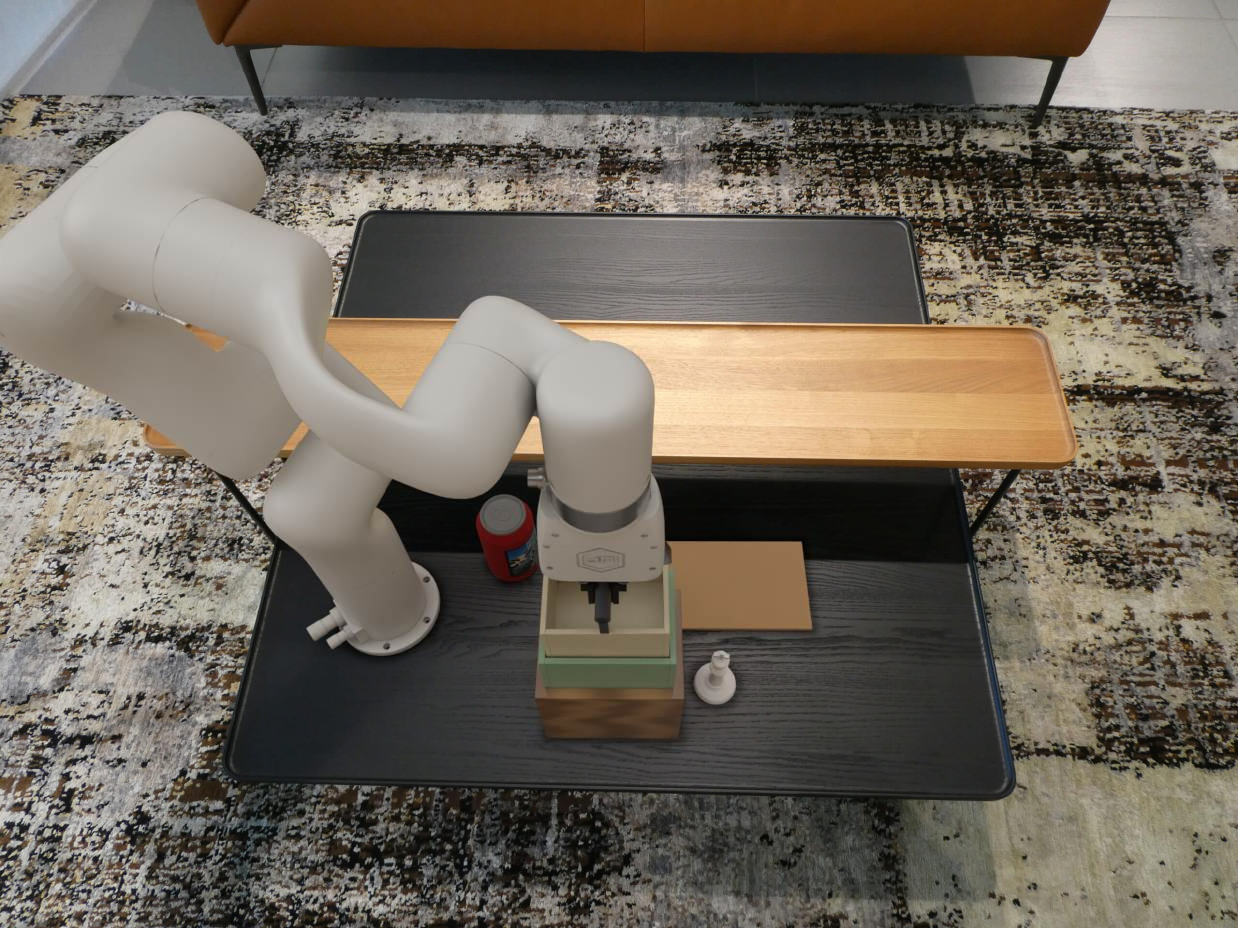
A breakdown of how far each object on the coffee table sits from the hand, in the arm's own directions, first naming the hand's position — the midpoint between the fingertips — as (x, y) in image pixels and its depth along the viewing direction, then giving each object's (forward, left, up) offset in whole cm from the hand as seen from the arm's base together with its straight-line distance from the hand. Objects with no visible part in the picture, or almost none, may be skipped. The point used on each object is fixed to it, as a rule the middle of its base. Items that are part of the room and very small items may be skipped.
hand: (604, 588), depth 77 cm
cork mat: (+20, +1, -27) cm, 33 cm away
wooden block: (0, 0, -27) cm, 27 cm away
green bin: (0, 0, -13) cm, 13 cm away
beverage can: (0, +21, -27) cm, 34 cm away
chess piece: (+10, -7, -27) cm, 29 cm away
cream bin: (0, 0, -7) cm, 7 cm away
